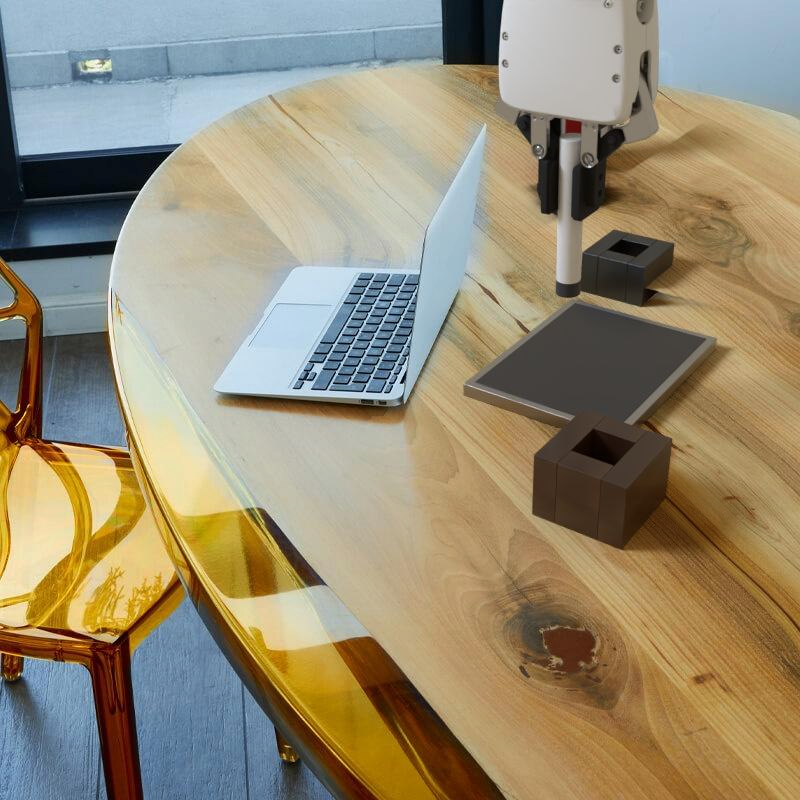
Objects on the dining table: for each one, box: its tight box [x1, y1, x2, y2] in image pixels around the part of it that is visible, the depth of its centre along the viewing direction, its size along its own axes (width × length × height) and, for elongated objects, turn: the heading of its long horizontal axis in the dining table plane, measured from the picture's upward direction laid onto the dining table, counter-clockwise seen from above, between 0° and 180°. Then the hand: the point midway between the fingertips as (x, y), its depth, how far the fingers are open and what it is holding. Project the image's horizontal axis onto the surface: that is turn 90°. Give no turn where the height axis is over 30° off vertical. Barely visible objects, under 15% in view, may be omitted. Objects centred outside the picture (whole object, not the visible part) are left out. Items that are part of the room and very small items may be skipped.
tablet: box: [462, 298, 718, 430], centre depth 90 cm, size 14×18×1 cm
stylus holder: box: [580, 229, 675, 307], centre depth 102 cm, size 6×6×4 cm
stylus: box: [555, 133, 584, 299], centre depth 78 cm, size 2×2×12 cm
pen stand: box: [531, 409, 674, 550], centre depth 73 cm, size 7×7×5 cm
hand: (570, 209), depth 77 cm, fingers closed on stylus, 1 cm apart
